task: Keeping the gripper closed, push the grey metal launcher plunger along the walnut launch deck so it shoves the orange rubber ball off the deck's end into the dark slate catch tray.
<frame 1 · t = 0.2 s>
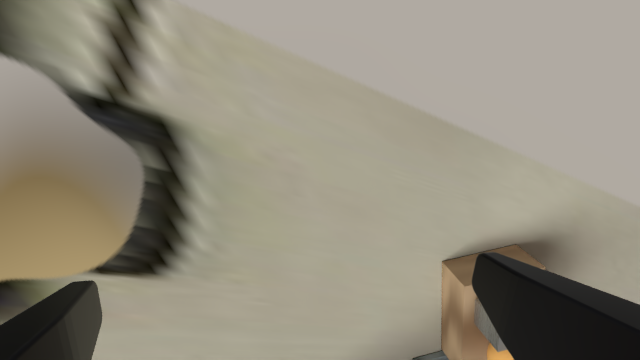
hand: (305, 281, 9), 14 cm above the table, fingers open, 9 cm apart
plunger: (530, 327, 24), point 6 cm above the table, slide at 0.0 cm
deck: (477, 298, 30), on the table
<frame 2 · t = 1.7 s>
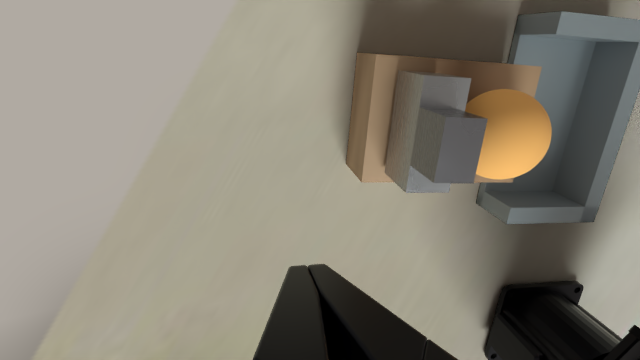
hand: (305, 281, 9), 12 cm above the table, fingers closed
ball: (499, 134, 17), point 5 cm above the table, touching deck
tray: (538, 118, 23), on the table
plunger: (434, 136, 16), point 6 cm above the table, slide at 0.0 cm
deck: (424, 113, 21), on the table
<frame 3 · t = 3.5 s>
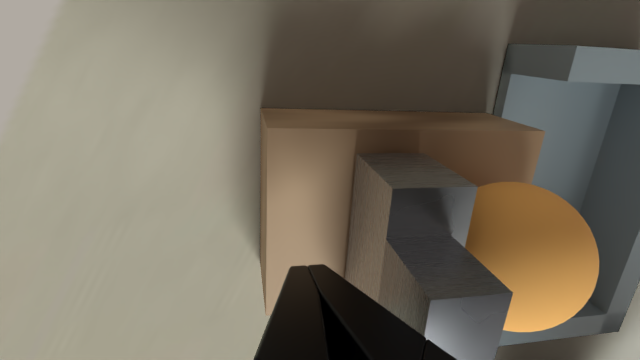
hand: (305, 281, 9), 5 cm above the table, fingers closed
ball: (509, 254, 10), point 5 cm above the table, tilted 27°, touching deck
tray: (539, 184, 16), on the table
plunger: (415, 275, 9), point 6 cm above the table, slide at 1.4 cm, touching gripper
deck: (372, 188, 15), on the table
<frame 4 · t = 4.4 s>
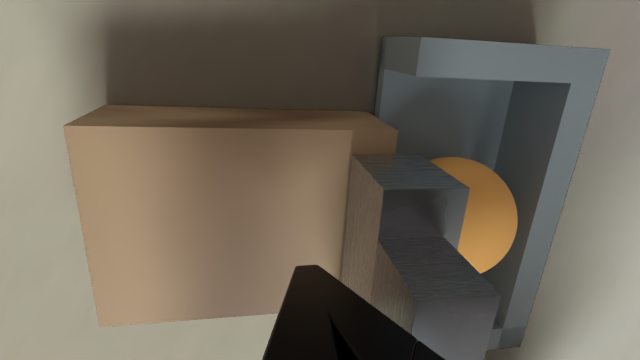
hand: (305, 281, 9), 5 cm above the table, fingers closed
ball: (450, 216, 13), point 2 cm above the table, tilted 178°, touching plunger, tray
tray: (437, 188, 15), on the table
plunger: (408, 276, 9), point 6 cm above the table, slide at 6.1 cm, touching ball, gripper
deck: (245, 191, 14), on the table
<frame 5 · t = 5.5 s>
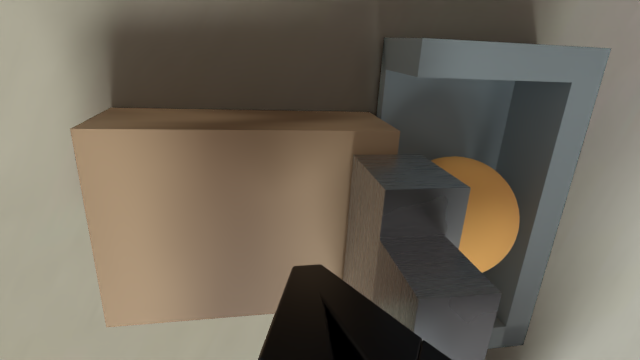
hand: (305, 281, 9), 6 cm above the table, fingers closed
ball: (452, 215, 13), point 2 cm above the table, tilted 178°, touching tray
tray: (439, 188, 15), on the table
plunger: (410, 275, 9), point 6 cm above the table, slide at 6.1 cm, touching gripper
deck: (249, 192, 14), on the table
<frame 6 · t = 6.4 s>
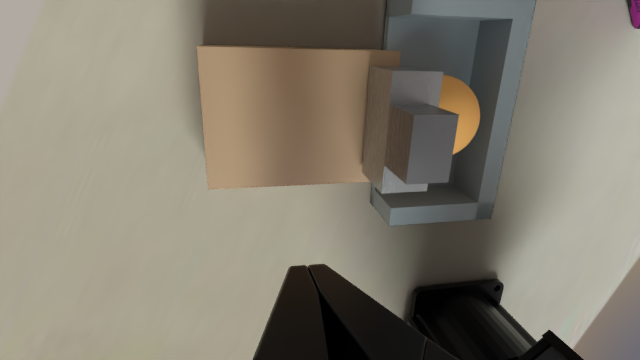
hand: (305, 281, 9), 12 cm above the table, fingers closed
ball: (435, 117, 18), point 2 cm above the table, tilted 175°, touching plunger, tray
tray: (428, 108, 21), on the table
plunger: (408, 133, 15), point 6 cm above the table, slide at 6.0 cm, touching ball
deck: (293, 109, 19), on the table
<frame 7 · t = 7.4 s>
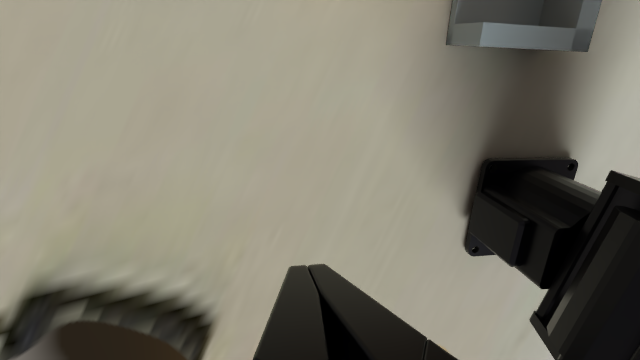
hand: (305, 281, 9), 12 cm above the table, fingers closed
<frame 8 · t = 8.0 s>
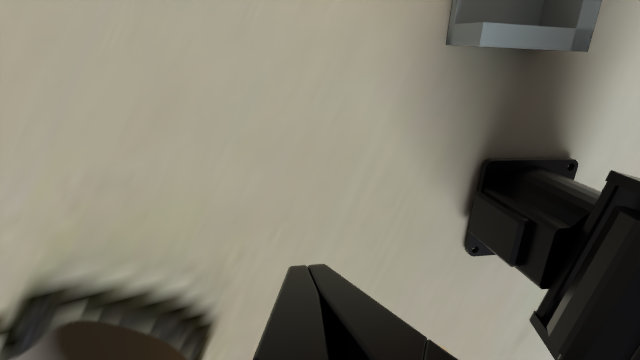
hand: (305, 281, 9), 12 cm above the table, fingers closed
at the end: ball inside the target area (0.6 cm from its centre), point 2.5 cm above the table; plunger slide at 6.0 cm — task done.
